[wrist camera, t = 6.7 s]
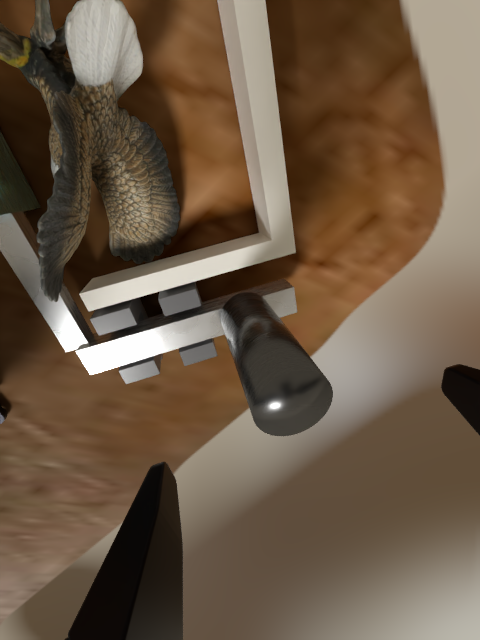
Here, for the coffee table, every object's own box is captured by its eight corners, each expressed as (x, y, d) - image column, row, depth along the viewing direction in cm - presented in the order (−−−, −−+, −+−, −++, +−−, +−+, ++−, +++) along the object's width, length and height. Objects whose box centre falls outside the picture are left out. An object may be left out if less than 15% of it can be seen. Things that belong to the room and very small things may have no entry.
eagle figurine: (-92, 86, 10) (35, 307, 13) (-206, -161, 5) (56, 310, 8) (107, 94, 15) (171, 258, 17) (167, -30, 9) (246, 238, 12)
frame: (100, 294, 16) (88, 311, 14) (-110, -120, 9) (-203, -218, 7) (280, 243, 17) (296, 252, 15) (220, -167, 10) (233, -266, 8)
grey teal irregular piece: (93, 360, 17) (16, 530, 9) (-71, 85, 11) (-989, -281, 2) (282, 303, 19) (375, 406, 10) (237, 22, 12) (398, -387, 3)
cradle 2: (184, 344, 19) (185, 368, 16) (159, 279, 16) (156, 296, 14) (212, 335, 19) (218, 358, 16) (191, 270, 17) (194, 285, 14)
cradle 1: (133, 359, 18) (127, 386, 16) (101, 295, 16) (88, 315, 14) (162, 350, 19) (161, 376, 16) (134, 286, 16) (127, 304, 14)
